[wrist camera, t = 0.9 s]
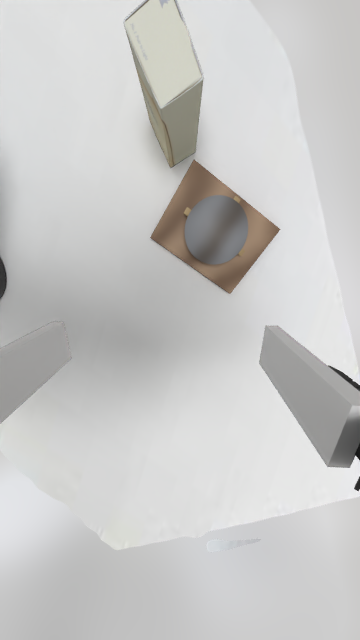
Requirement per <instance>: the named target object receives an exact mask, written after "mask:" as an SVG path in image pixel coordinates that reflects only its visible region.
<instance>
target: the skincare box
mask: <svg viewBox="0 0 360 640" xmlns="http://www.w3.org/2000/svg"><path fill="white" fill-rule="evenodd" d="M124 26H125V30H126V33H127V37H128V40H129V44H130V47H131V51H132V55H133V58H134V62H135V66H136V70H137V73H138V77H139V81H140V85H141V88H142V92H143V96H144V100H145V104H146V107H147V111H148V115H149V119H150V122H151V125H152V127H153V129H154V132H155V134H156V137H157V139H158V141H159V143H160V146H161V148H162V150H163V152H164V155H165V157H166V159H167V161H168V163H169V166H170V167H173V166H174V165H176V164H178V163H179V162H181V161H182V160H184V159H185V158H187V157H188V156H190V155H191V154H193V153H194V152H195V151H196V142H197V133H198V123H199V114H200V104H201V95H202V86H203V72H202V69H201V66H200V63H199V60H198V57H197V55H196V52H195V49H194V46H193V43H192V40H191V37H190V34H189V31H188V29H187V26H186V23H185V21H184V18H183V15H182V12H181V10H180V7H179V4H178V2H177V0H145V1H143V2H142V3H141V4H140V5H139V6H138V7H137V8H136V9H135V10H134V11H132V12H131V13H130V14H129V15H128V16H127V17H126V18H125V19H124Z"/></svg>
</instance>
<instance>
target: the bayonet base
mask: <svg viewBox="0 0 360 640" xmlns="http://www.w3.org/2000/svg"><path fill="white" fill-rule="evenodd" d="M279 230H280V229H279V228H278V227H277V226H276V225H274V224H273V223H272V222H271V221H269V220H268V219H267V218H266V217H264V216H263V215H262V214H261V213H259V212H258V211H257V210H256V209H255V208H253V207H252V206H251V205H250V204H248V203H247V202H246V201H245V200H243V199H242V198H241V197H240V196H238V195H237V194H236V193H235V192H234V191H232V190H231V189H230V188H229V187H227V186H226V185H225V184H224V183H222V182H221V181H220V180H219V179H217V178H216V177H215V176H214V175H212V174H211V173H210V172H209V171H208V170H206V169H205V168H204V167H203V166H201V165H200V164H199V163H198V162H196V161H195V160H193V162H192V164H191V166H190V167H189V169H188V171H187V173H186V175H185V176H184V178H183V180H182V182H181V184H180V185H179V187H178V189H177V191H176V193H175V194H174V196H173V198H172V200H171V201H170V203H169V205H168V207H167V209H166V210H165V212H164V214H163V216H162V218H161V219H160V221H159V223H158V225H157V227H156V228H155V230H154V232H153V234H152V236H151V237H150V238H151V239H153V240H154V241H156V242H157V243H159V244H160V245H161V246H163V247H164V248H166V249H167V250H168V251H170V252H171V253H173V254H174V255H176V256H177V257H178V258H180V259H181V260H183V261H184V262H186V263H187V264H188V265H190V266H191V267H193V268H194V269H195V270H197V271H198V272H200V273H201V274H203V275H204V276H205V277H207V278H208V279H210V280H211V281H212V282H214V283H215V284H217V285H218V286H220V287H221V288H222V289H224V290H225V291H227V292H228V293H229V294H230V293H231V292H232V291H233V289H234V288H235V287H236V286H237V284H238V283H239V282H240V280H241V279H242V278H243V277H244V275H245V274H246V273H247V271H248V270H249V269H250V268H251V266H252V265H253V264H254V262H255V261H256V260H257V259H258V257H259V256H260V255H261V253H262V252H263V251H264V250H265V248H266V247H267V246H268V244H269V243H270V242H271V241H272V239H273V238H274V237H275V235H276V234H277V233H278V232H279Z"/></svg>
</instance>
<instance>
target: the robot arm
mask: <svg viewBox="0 0 360 640" xmlns="http://www.w3.org/2000/svg"><path fill="white" fill-rule="evenodd" d="M5 285H6V276H5V270H4V266H3V264H2V261H1V259H0V298H1V296H2V295H3V293H4V290H5ZM71 359H72V357H71V353H70V348H69V343H68V339H67V334H66V330H65V325H64V322H51V323H49V324H47V325H45V326H43V327H41V328H39V329H37V330H35V331H33V332H31V333H29V334H27V335H25V336H24V337H22V338H20V339H18V340H16V341H14V342H12V343H10V344H8V345H6V346H4V347H2V348H0V424H1V423H2V422H3V421H4V420H5V419H6V418H7V417H8V416H9V415H11V414H12V413H13V412H14V411H15V410H16V409H17V408H18V407H19V406H20V405H21V404H23V403H24V402H25V401H26V400H27V399H28V398H29V397H30V396H31V395H32V394H33V393H35V392H36V391H37V390H38V389H39V388H40V387H41V386H42V385H43V384H44V383H45V382H47V381H48V380H49V379H50V378H51V377H52V376H53V375H54V374H55V373H56V372H57V371H59V370H60V369H61V368H62V367H63V366H64V365H65V364H66V363H67V362H68V361H69V360H71ZM259 364H260V365H261V367H262V368H263V370H264V371H265V373H266V374H267V376H268V377H269V379H270V380H271V382H272V383H273V385H274V386H275V388H276V389H277V391H278V392H279V394H280V395H281V397H282V399H283V400H284V402H285V403H286V405H287V406H288V408H289V409H290V411H291V412H292V414H293V415H294V417H295V418H296V420H297V421H298V423H299V424H300V426H301V427H302V429H303V430H304V432H305V433H306V435H307V436H308V438H309V440H310V441H311V443H312V444H313V446H314V447H315V449H316V450H317V452H318V453H319V455H320V456H321V458H322V459H323V461H324V462H325V464H326V465H327V467H343V468H350V466H351V464H352V462H353V460H354V457H355V455H356V456H357V458H358V459H359V460H360V385H358V384H357V383H356V382H353V380H352V379H351V378H349V377H348V376H347V375H345V374H344V373H343V372H341V371H339V370H337V369H335V368H333V367H331V366H327V365H326V364H325V363H323V362H322V361H321V360H320V359H318V358H317V357H316V356H315V355H313V354H312V353H311V352H310V351H309V350H307V349H306V348H305V347H304V346H302V345H301V344H300V343H299V342H297V341H296V340H295V339H294V338H292V337H291V336H290V335H289V334H287V333H286V332H285V331H284V330H282V329H281V328H280V327H279V326H265V332H264V338H263V343H262V349H261V355H260V361H259ZM354 489H355V490H357V491H359V489H360V477H359V479H358V481H357V483H356V485H355V488H354Z"/></svg>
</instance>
